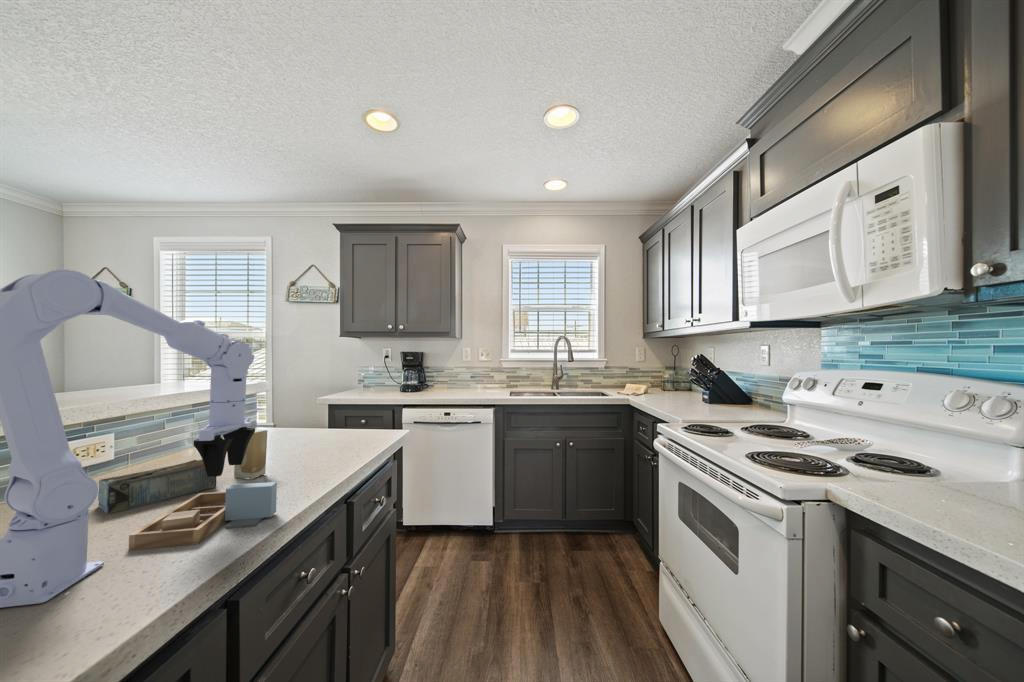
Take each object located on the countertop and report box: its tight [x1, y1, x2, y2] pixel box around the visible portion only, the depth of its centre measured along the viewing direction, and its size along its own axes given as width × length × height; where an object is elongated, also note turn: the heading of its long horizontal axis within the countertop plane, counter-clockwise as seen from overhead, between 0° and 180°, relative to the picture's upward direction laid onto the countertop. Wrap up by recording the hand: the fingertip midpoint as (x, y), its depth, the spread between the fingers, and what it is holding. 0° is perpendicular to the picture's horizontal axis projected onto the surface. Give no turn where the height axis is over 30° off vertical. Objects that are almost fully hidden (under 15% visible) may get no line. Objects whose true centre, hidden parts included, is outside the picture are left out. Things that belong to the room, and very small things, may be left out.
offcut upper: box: [162, 509, 201, 531], centre depth 67 cm, size 3×4×2 cm
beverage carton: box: [97, 459, 218, 515], centre depth 87 cm, size 8×19×7 cm, turn 147°
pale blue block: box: [224, 481, 278, 522], centre depth 75 cm, size 2×8×6 cm, turn 102°
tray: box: [128, 491, 228, 551], centre depth 73 cm, size 20×10×2 cm, turn 12°
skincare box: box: [233, 428, 268, 480], centre depth 101 cm, size 6×4×12 cm
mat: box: [224, 518, 264, 529], centre depth 75 cm, size 8×5×1 cm, turn 12°
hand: (225, 470), depth 75 cm, fingers open, 7 cm apart
